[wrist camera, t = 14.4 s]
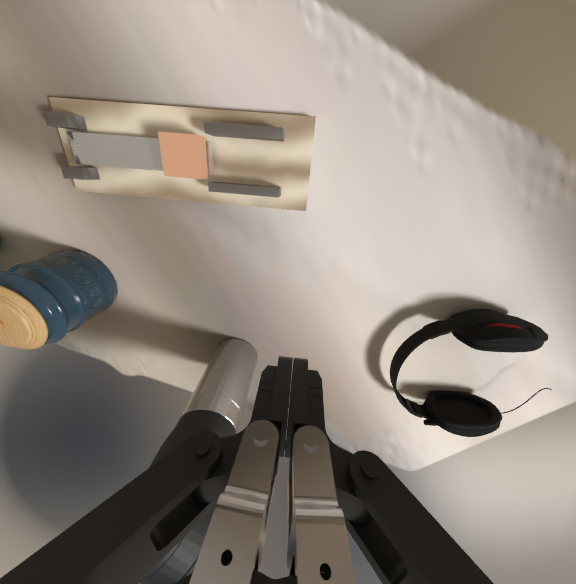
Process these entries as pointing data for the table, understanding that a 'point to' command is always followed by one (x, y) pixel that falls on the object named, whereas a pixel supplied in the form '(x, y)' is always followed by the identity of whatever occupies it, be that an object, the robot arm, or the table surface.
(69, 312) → the canister
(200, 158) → the peach block
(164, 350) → the table surface
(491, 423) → the headset
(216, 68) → the table surface
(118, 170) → the latch base
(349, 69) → the table surface
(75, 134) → the strap
